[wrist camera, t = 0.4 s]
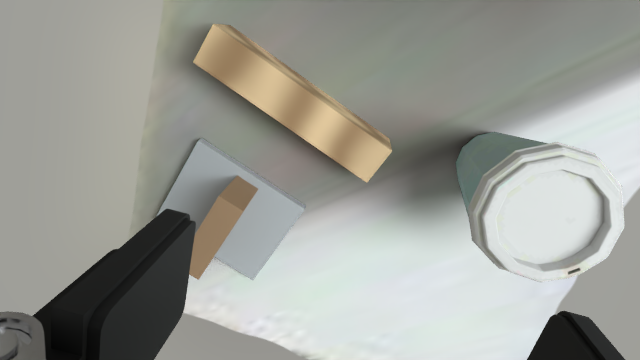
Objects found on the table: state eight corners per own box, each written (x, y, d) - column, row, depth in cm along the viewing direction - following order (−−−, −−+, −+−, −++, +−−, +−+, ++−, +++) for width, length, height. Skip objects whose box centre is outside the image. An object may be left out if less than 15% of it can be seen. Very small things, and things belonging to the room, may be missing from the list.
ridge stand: (201, 138, 44) (173, 156, 37) (305, 205, 45) (296, 234, 39) (158, 216, 48) (125, 244, 41) (254, 275, 49) (238, 312, 43)
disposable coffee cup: (421, 139, 41) (450, 193, 27) (523, 90, 38) (614, 122, 24) (460, 221, 44) (505, 308, 30) (558, 181, 41) (658, 256, 27)
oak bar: (212, 59, 41) (192, 62, 36) (231, 25, 40) (213, 23, 35) (366, 166, 43) (366, 182, 38) (389, 138, 42) (392, 151, 37)
